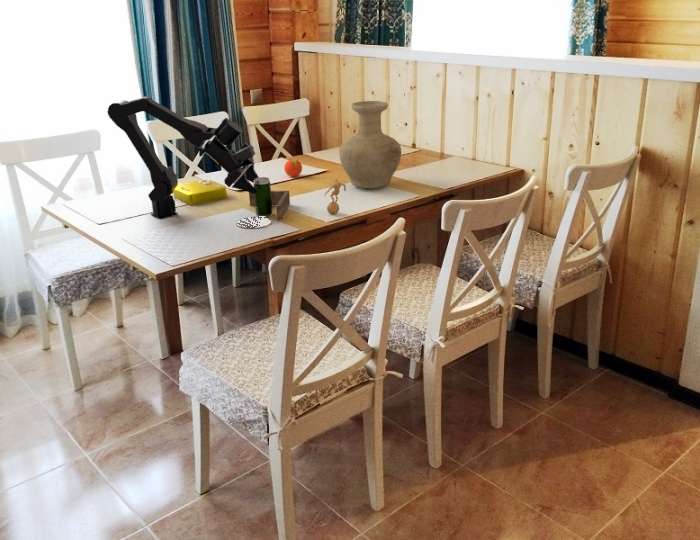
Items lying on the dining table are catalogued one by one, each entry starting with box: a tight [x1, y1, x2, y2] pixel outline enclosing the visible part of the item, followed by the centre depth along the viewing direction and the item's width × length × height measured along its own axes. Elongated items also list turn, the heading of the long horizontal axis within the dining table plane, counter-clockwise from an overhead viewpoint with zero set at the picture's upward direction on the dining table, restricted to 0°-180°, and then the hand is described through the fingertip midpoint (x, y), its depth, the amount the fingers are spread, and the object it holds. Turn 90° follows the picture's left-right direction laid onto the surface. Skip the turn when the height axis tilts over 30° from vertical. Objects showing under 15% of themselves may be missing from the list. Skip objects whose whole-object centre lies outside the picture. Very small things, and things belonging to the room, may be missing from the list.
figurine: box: [324, 178, 347, 215], centre depth 221 cm, size 8×6×12 cm
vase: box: [338, 100, 402, 189], centre depth 248 cm, size 22×22×30 cm
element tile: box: [172, 178, 228, 206], centre depth 245 cm, size 15×15×5 cm
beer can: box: [252, 176, 273, 217], centre depth 222 cm, size 5×5×12 cm
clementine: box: [284, 158, 303, 178], centre depth 267 cm, size 8×7×7 cm
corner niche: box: [248, 190, 291, 221], centre depth 226 cm, size 14×18×5 cm
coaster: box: [236, 215, 268, 228], centre depth 217 cm, size 11×11×1 cm
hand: (259, 189), depth 221 cm, fingers open, 9 cm apart
